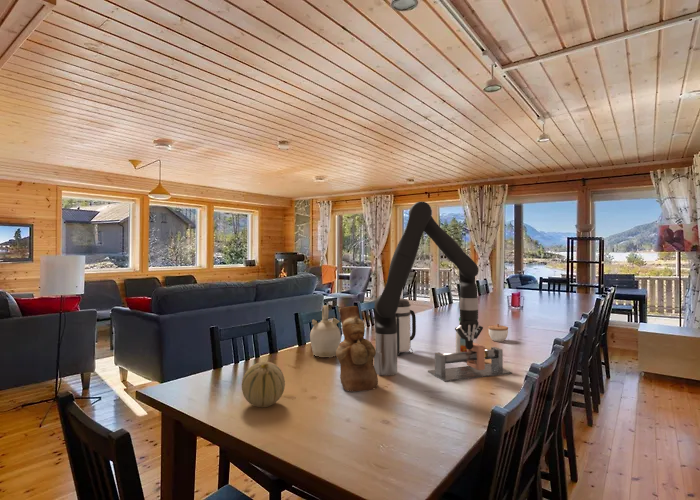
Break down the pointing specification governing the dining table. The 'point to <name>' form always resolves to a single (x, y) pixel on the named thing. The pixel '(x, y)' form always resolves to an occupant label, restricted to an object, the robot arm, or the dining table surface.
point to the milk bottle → (460, 342)
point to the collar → (478, 357)
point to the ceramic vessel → (355, 353)
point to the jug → (325, 336)
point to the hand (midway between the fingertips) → (469, 348)
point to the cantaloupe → (263, 384)
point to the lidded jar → (498, 332)
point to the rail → (468, 371)
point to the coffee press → (404, 326)
